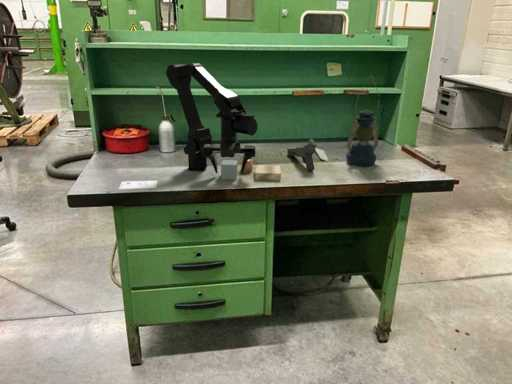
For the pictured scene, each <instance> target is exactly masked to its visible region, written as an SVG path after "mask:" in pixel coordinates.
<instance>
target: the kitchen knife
mask: <svg viewBox="0 0 512 384" xmlns="http://www.w3.org/2000/svg"><path fill="white" fill-rule="evenodd" d="M308 145H315V149H316V152H315V153H317V155H318V158H320V159H321V160H322V161H325V162H329V159H328V157H327V156H328V155H326V153H325V151H324V150H323V149H320V148H318V145H317V143H316V141H315V140H314V139H313V138H309V140H308Z"/></svg>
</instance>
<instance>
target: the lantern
mask: <svg viewBox="0 0 512 384" xmlns="http://www.w3.org/2000/svg"><path fill="white" fill-rule="evenodd" d="M370 78H372V81H373V84H374V86H375V88H376V92H377V93H378V94H377V95H378V96H380V92H379V90H378V88H377V85H376V82H375V80H374V77H373V75H372V74H370V75H369V77H368V78H367V80H366V81H365V82H364V85H363V87H362V89H361V90H360V91H359V93H358V95H357V98H356V102H355V106H357V104H358V99H359V96H360V94H361V93H362V91H363V89H364V88H365V85H367V82H368V81H369V79H370ZM377 105H378V106H377V109H380V108H379V106H380V100H378V104H377ZM354 109H355V110H354V112H353V113H354V114H353V119H354V121H353V123H352V126H351V129H350V133H349V136H348V139H347V142H346V143H347V144H346V149H347V150H348V152H347V153H346V155H345V156H346V157H345V158H346V162H347V163H348V164H349V165H351V166H354V167H363V168H365V167H372V166H373V165H374V164H375V163H376V161H377V155H376V154H375V150H376V148H377V147H378V144H379V136H378V135H379V134H378V122H377V117H378V115H379V112H377V114H376V116H374V112H373V111H371V110H370V109H363V110H360V111H358V115H356V110H357V107H355V108H354ZM357 125H358V126H357ZM354 136H355V138H356V139H357V142H356V141H355V142H353V139H354ZM372 138H373V144H371V143H370V142H369V141H370V140H371V139H372ZM352 142H353V143H352Z"/></svg>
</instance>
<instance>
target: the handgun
mask: <svg viewBox="0 0 512 384" xmlns="http://www.w3.org/2000/svg"><path fill="white" fill-rule="evenodd" d="M286 151H287V152H286V153H287V155H286V156H287V157H297V158H298V157H299V158H301V159H302V163H303V164H305V167H306V171H307V172H313V171H314V170H315V164H314V159H313V155H315V153H317V152H316V149H315V145H309V144H307V145H306V144H305V145H304V146H303V147H295V148H287V150H286Z"/></svg>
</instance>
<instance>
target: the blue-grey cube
mask: <svg viewBox="0 0 512 384" xmlns="http://www.w3.org/2000/svg"><path fill="white" fill-rule="evenodd" d="M220 179H221V180H236V181H237V179H238V160H229V159H228V160H227V159H225V160H224V159H221V163H220Z"/></svg>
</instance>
